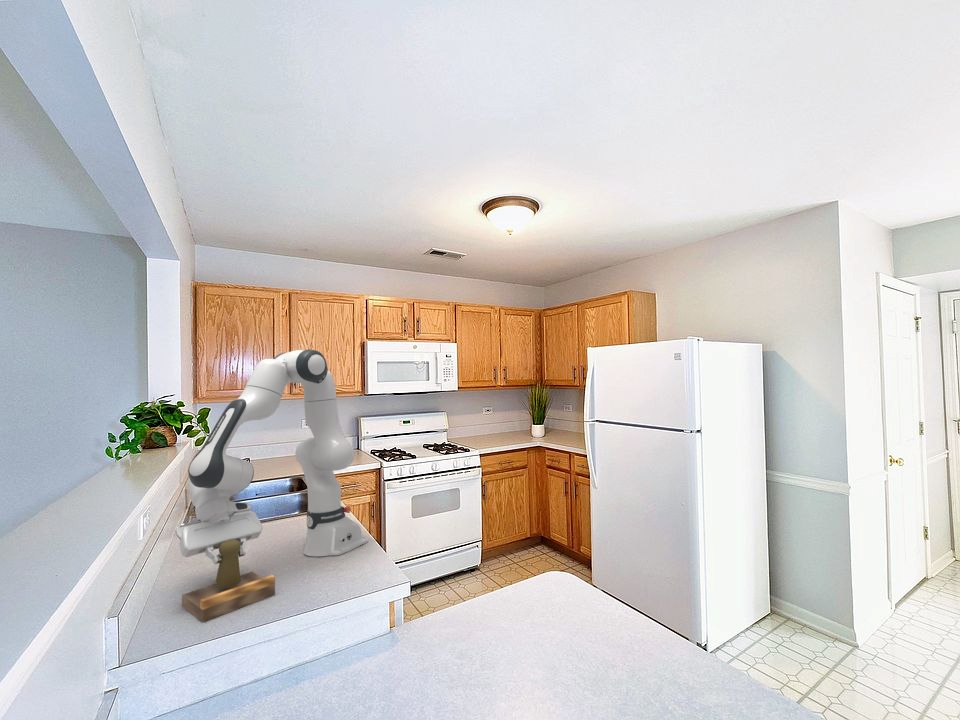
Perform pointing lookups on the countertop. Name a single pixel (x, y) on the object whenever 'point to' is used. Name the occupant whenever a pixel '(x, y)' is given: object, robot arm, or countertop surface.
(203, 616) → the dock
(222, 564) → the cork
